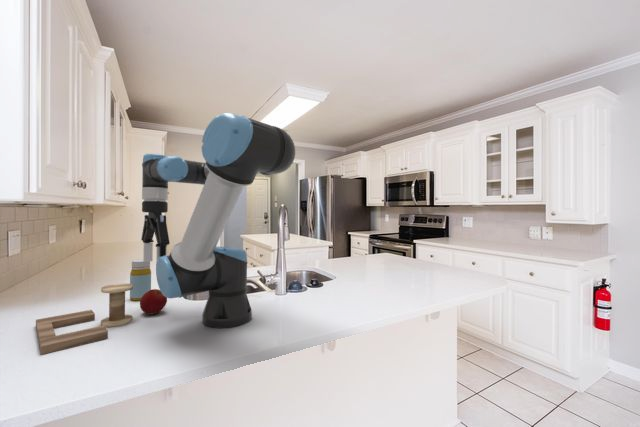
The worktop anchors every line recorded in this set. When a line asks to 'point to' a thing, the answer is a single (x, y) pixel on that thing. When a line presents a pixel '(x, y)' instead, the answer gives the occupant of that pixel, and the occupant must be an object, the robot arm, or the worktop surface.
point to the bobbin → (116, 305)
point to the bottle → (140, 279)
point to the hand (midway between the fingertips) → (154, 264)
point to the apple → (153, 301)
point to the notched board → (68, 340)
